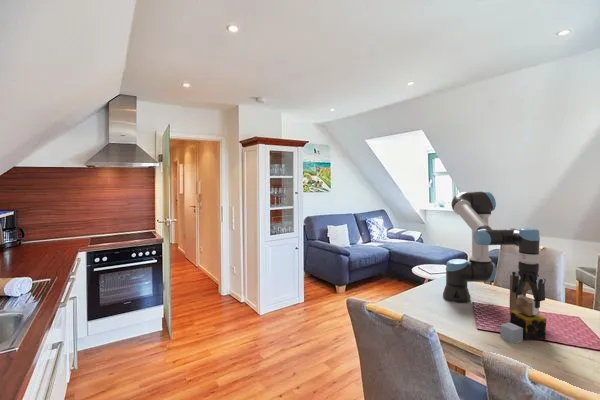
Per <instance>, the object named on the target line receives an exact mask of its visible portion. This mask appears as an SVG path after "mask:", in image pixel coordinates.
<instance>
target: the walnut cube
mask: <svg viewBox="0 0 600 400" xmlns="http://www.w3.org/2000/svg"><path fill="white" fill-rule="evenodd" d="M532 300H534V298H531V297H528V296H526V297H521V298H517V300H516V311H518V312H520V313H523V314H525V315H528V316H532ZM539 310H540V308H538V314H539Z"/></svg>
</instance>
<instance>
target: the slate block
mask: <svg viewBox="0 0 600 400" xmlns="http://www.w3.org/2000/svg"><path fill="white" fill-rule="evenodd" d="M499 337H500V338H501V339H503V340H505V341H507V342H509V343H511V344H517V343H520V342H523V341H524V339H523V328H521V327H519V326H517V325H515V324H512V323H510V322H506V323H502V324H500V336H499Z"/></svg>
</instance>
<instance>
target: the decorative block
mask: <svg viewBox="0 0 600 400" xmlns="http://www.w3.org/2000/svg"><path fill="white" fill-rule="evenodd" d="M520 278H521V277H520V276H519V280H520ZM512 282H513V275H512V274H510V277H509V311H510V310H516V293H514V292H512ZM518 285H519V283H518ZM528 291H532V289H531V286H530V285H529V283H528V282H526V283H525V286H524V288H523V291H522V294H521V295H523V297H527V292H528Z"/></svg>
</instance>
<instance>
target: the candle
mask: <svg viewBox="0 0 600 400" xmlns="http://www.w3.org/2000/svg"><path fill="white" fill-rule="evenodd" d="M509 316H510V319H509V323H512V324H515V325H517V326H519V327H521V328H523V341H540V340H546V332H547V331H546V329H547V328H546V327H547V318H546V317H544V316H543V315H540V314H539V313H538V314H536V315H532V316H528V315H525V314H523V313H520V312H518V311H516V310H510V309H509Z"/></svg>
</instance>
